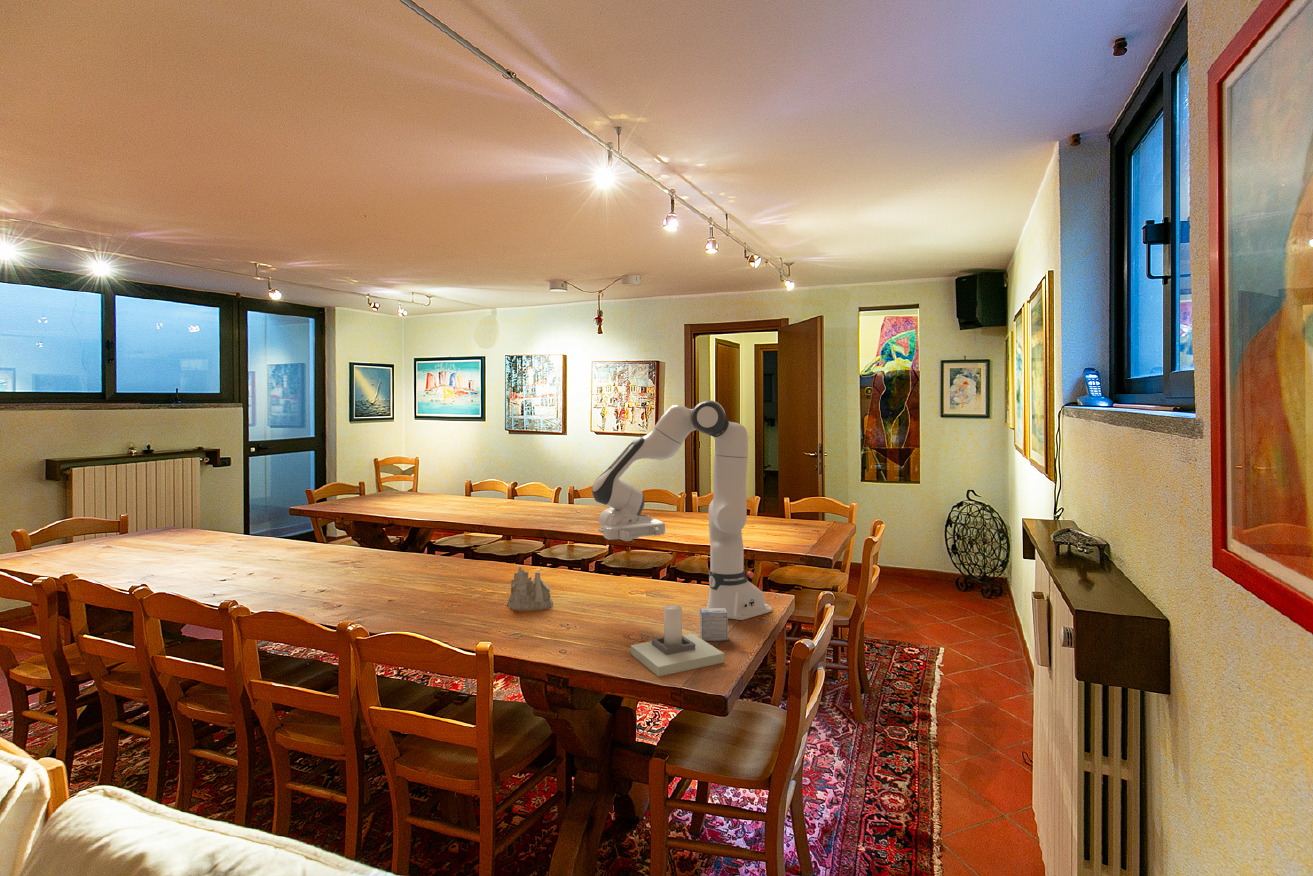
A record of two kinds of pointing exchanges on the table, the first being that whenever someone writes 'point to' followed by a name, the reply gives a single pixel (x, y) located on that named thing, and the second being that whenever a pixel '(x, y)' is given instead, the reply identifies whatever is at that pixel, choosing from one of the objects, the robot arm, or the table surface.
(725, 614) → the medicine box
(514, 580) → the stone castle model
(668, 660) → the slab with grey frame
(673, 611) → the white rounded capsule
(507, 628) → the table surface
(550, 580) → the table surface
